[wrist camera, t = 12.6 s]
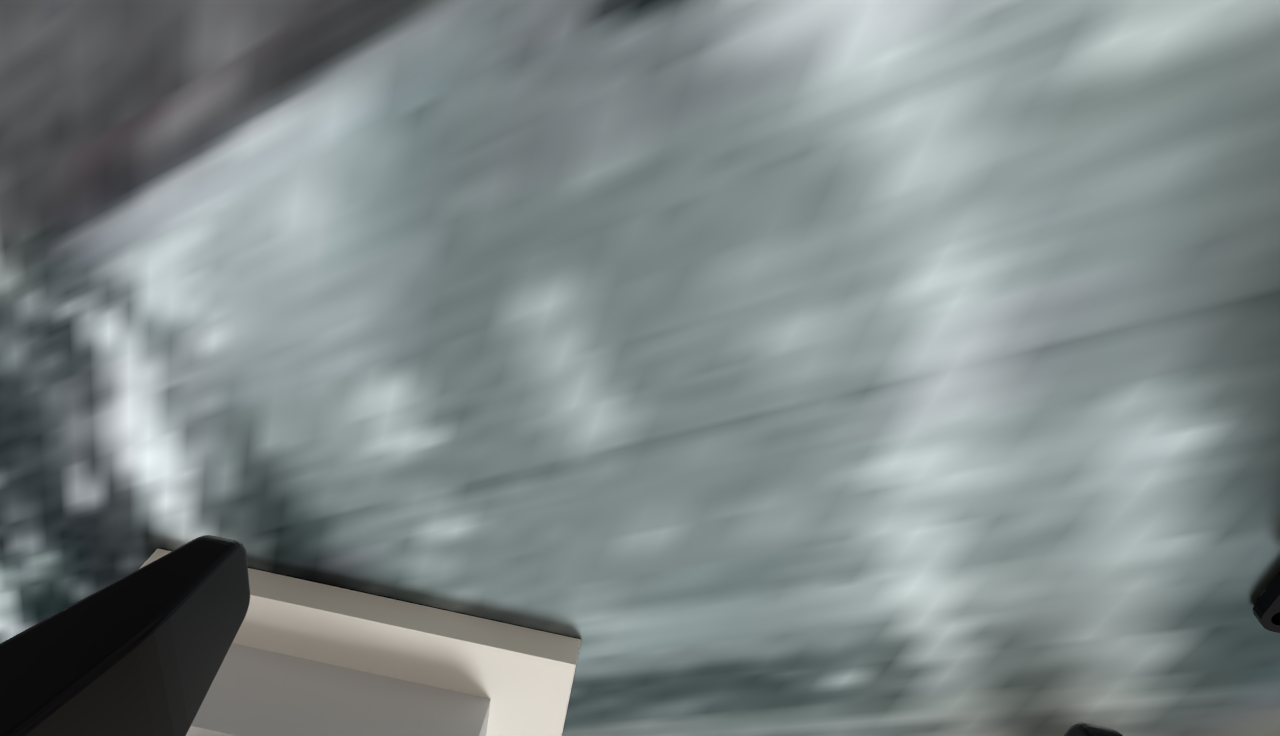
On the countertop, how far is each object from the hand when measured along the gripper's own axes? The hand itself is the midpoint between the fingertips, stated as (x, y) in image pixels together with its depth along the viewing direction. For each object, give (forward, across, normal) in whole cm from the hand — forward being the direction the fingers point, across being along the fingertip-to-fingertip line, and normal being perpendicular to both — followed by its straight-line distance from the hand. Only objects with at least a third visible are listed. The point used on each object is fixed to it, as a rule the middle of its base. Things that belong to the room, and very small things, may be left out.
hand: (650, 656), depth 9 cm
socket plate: (+12, +8, +21) cm, 25 cm away
